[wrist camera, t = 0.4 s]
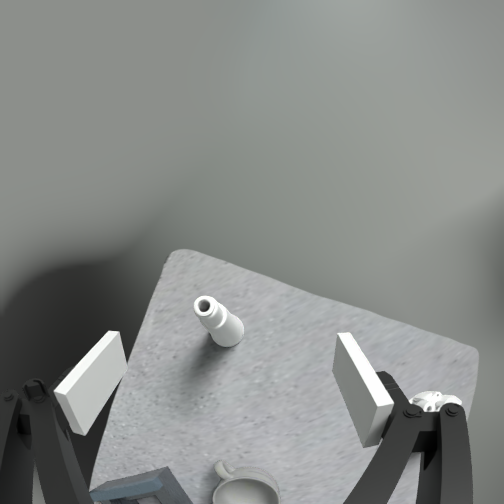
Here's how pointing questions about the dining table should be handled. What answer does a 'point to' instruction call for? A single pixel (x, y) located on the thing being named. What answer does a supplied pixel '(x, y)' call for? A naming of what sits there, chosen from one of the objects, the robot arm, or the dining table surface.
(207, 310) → the cosmetic bottle
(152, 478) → the jig
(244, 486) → the teacup
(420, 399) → the mechanical part
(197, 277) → the dining table surface
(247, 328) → the dining table surface
